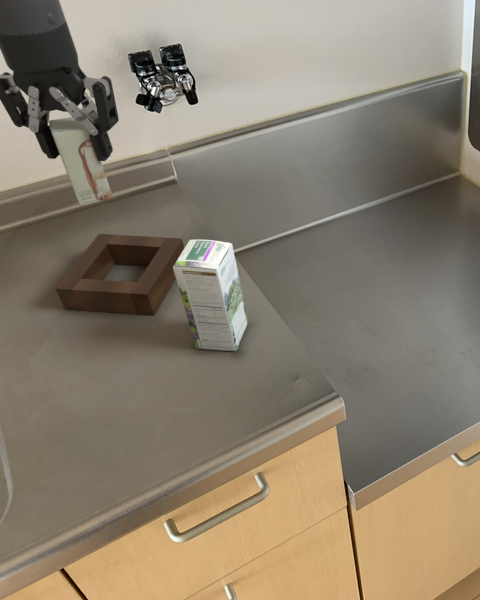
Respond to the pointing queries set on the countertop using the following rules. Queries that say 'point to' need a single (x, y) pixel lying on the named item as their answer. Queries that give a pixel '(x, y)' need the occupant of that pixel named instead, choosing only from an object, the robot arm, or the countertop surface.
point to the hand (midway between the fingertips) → (79, 156)
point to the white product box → (80, 161)
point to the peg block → (119, 294)
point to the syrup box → (211, 294)
